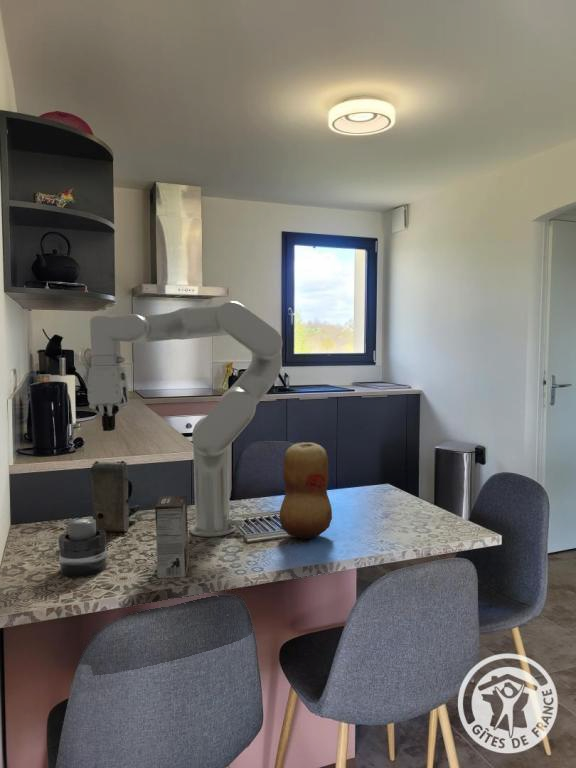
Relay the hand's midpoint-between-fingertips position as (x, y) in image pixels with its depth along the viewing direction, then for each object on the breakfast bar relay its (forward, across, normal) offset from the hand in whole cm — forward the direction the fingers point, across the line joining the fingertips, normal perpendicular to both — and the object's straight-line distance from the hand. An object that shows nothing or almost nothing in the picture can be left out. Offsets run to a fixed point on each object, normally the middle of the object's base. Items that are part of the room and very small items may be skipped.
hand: (109, 430), depth 156 cm
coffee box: (+29, -27, +20) cm, 45 cm away
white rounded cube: (+23, -6, +23) cm, 33 cm away
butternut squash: (+29, -52, -8) cm, 60 cm away
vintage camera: (+29, +4, -10) cm, 31 cm away
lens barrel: (+29, -6, +23) cm, 38 cm away
